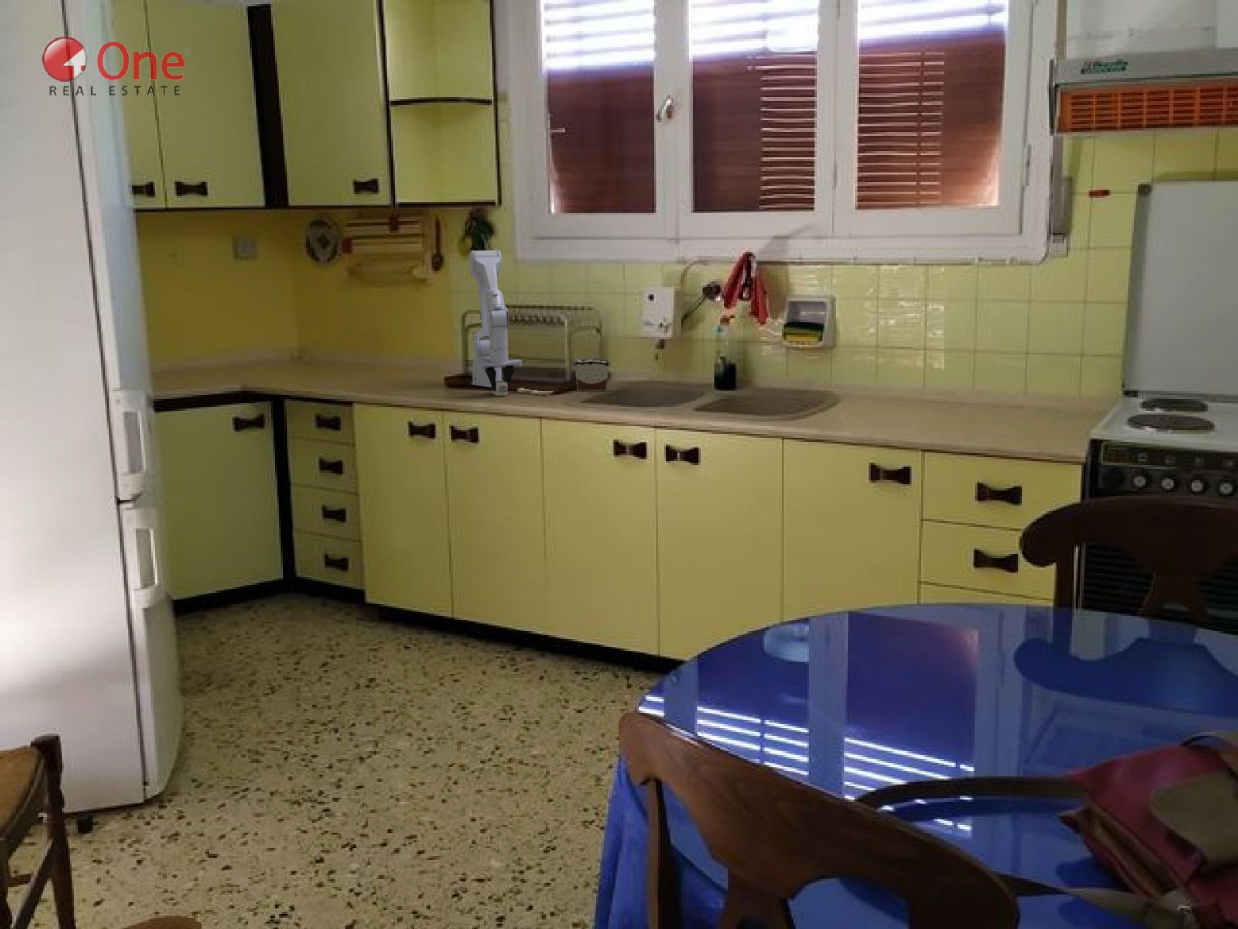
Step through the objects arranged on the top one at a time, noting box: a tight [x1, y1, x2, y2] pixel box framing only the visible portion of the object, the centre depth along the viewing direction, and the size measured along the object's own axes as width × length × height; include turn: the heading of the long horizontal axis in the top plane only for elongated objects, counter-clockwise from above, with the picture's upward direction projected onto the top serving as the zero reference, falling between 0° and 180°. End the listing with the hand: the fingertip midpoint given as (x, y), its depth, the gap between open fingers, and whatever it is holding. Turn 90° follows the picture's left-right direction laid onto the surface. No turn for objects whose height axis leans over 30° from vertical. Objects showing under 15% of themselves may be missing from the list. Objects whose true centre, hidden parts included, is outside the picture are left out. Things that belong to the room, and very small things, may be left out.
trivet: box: [517, 387, 554, 397], centre depth 380 cm, size 12×12×1 cm
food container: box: [572, 356, 611, 392], centre depth 382 cm, size 12×6×10 cm, turn 84°
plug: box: [492, 379, 509, 397], centre depth 375 cm, size 8×4×4 cm, turn 24°
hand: (500, 389), depth 375 cm, fingers closed on plug, 4 cm apart
